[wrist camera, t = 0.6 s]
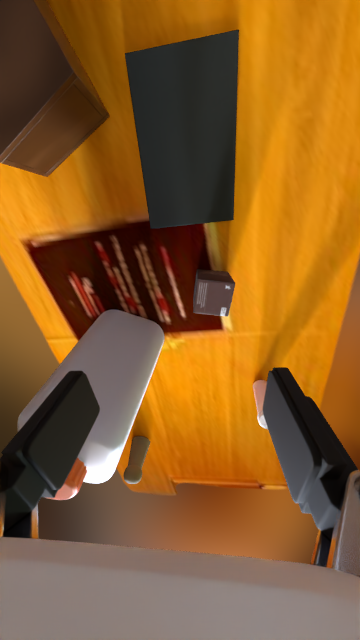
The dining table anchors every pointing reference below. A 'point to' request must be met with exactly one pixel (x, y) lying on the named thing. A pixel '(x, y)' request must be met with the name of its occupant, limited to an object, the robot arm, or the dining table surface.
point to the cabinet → (41, 90)
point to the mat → (187, 127)
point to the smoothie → (260, 400)
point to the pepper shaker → (136, 459)
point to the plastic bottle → (106, 389)
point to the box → (213, 292)
